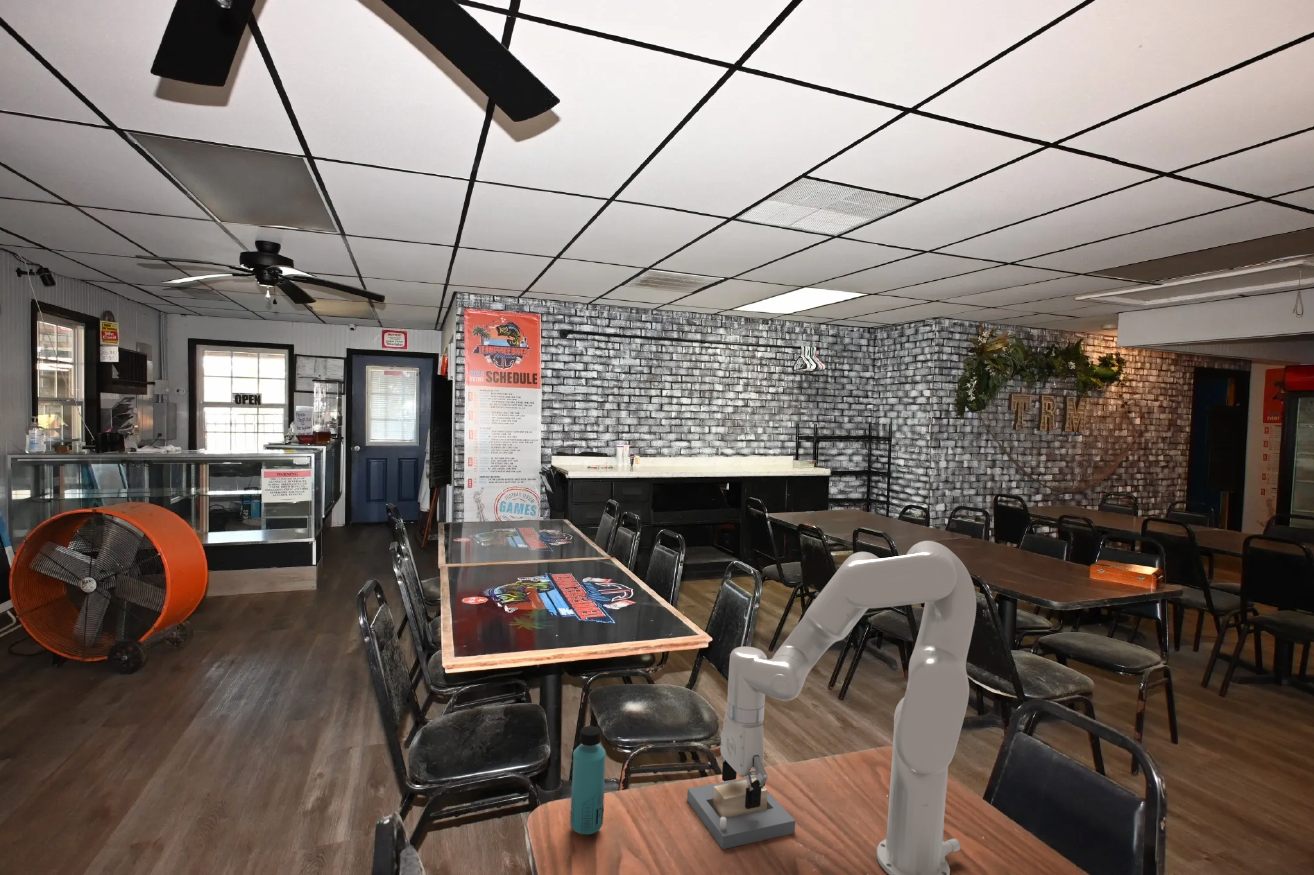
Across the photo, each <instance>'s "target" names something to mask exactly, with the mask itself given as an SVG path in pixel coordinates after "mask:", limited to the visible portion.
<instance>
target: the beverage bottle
mask: <svg viewBox="0 0 1314 875" xmlns="http://www.w3.org/2000/svg"><path fill="white" fill-rule="evenodd" d="M601 735H602V733H601V729H600V728H599V727H597V726H593V725H588V726H584V727H582V728H581V729H580V732H579V738H578V741H579V743H580V744H579V745H578V746H577V747H576V748H575V749H574V750H573V753H572V756H573V760H572V777H571V778H572V779H571V780H572V781H571V795H570V796H571V797H570V802H569V803H570V809H569V812H570V815H569V819H570V820H569V824H570V826H571V829H572V830H573V831H575V832H576V833H578V834H580V835H591V834H595V833H597V832H599V831H600V830H601V828H602V826H603V824H604V813H605V811H604V810H605V807H604V804H605V782H606V770H605V768H606V756H607V754H606V750H605V748H604V747H602V745H601V744H600V743H601V741H602V736H601Z"/></svg>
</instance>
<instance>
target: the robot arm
mask: <svg viewBox="0 0 1314 875" xmlns="http://www.w3.org/2000/svg"><path fill="white" fill-rule="evenodd" d="M916 604H924V606H923V612H922V616H921V620H920V626H919V631H918V633H917V634H918V635H917V637H916V641H915V645H914V648H913V651H912V654H911V656H910V659H909V663H908V679H907V686H906V690H905V693H904V697H902V698H901V699H900V700H899V702H898V703H897V705H896V708H895V709H894V715H893V737H892V738H893V739H892V740H893V741H892V754H891V756H892V757H891V770H890V782H889V796H888V798H889V799H888V810H887V812H888V813H887V825H886V838H884V839H883V840H881V841H880V842H879V843H878V845H877V847H876V859H877V861H878V863H879V864H878V865H879V866H880V867H881V868H882V869H883V870H884V872H886V873H887V874H888V875H950V871H951V869H950V864H949V863H948V862H947V860H946V856H948V855H949V853H954V852H958V851H960V850H961V843H960V842H959V840H958V839H957V838H950V839H947V840H946V841H944V840H945V838H944V823H945V812H946V811H945V809H946V796H947V789H948V787H947V786H948V775H949V774H948V772H949V765H950V764H951V762H952V761H953V758H954V755H955V752H956V749H957V745H958V742H959V739H960V736H961V730H962V727H963V723H964V719H965V716H966V712H967V709H968V708H967V707H968V703H969V697H970V683H969V678H968V677H969V676H968V673H967V666H966V665H967V658H968V654H969V649H970V645H971V641H972V637H973V631H974V626H975V621H976V616H977V614H976V613H977V597H976V591H975V585H974V583H973V580H972V577H971V575H970V573H969V570H968V569H967V567H966V566H965V564H964V563H963V562H962V560H961V559H960V558H959V557H958V556H957V555H956V554H955V553H954V552H953V551H952V550H951V549H949V548H948V547H947V546H946V545H943V544H941V543H939V542H936V541H933V540H923V541H919V542H916V543H915V544H914V545H912V546H911V547H910V548H909V549H908V551H907V553H906V554H905V555H898V556H892V557H883V558H880V557H878V556H877V555H875V554H873V553H872V552H867V551H858V552H854V553H852V554H851V555H849V556H848V557H847V558H846V559H845V560H844V562H843V563H842V564H841V566H840V567H839V568H838V569H837V570H836V572H835V573H834V575H833V576H832V577H831V579H830V580H829V581H828V582H827V584H826V585H825V586H824V587H823V588H822V590H821V591H820V592H819V594H818V595H817V596H816V598H815V599H814V600H813V601H812V603H811V604H810V605H809V607H808V608H807V610H806V611H805V613H804V614H803V617H802V619H800V620H799V622H798V623H797V625H796V626H795V627H794V628H793V630H792V631H791V632H790V634H789V635H788V637H786V639H785V640H784V641H783V642H782V644H781V645H780V646H779V647H778V649H777V650H776V652H775V653H774V655H773V656H772V658H770V659H768V657H767V655H766V653H765V652H764V651H762V650H761V649H759V648H757V647H753V646H738V647H735V648H733V649H732V650H731V652H730V654H729V665H728V680H727V697H726V698H727V701H726V709H725V710H726V711H725V714H724V718H723V724H722V728H721V729H722V730H721V731H722V732H721V733H720V734H719V735H720V751H719V752H720V755H721V760H722V768H721V770H722V771H721V781H722V782H726V781H732V780H737V775H738V776H740V777H742V778H743V777H744V778H746V781H747V785H748V788H746V797H745V807H746V809H751V808H756V807H759V806H760V803H761V789H762V788H763V786H764V787H766V782H767V780H768V778H769V777H768V773H767V771H766V769H765V767H764V758H765V757H764V756H765V755H764V753H765V751H764V750H765V747H764V746H765V741H764V740H765V738H764V725H763V723H764V719H765V718H764V717H765V702H766V696H768V697H770V698H772V699H776V700H779V701H783V702H789V701H793V700H794V699H796V698H797V697H798V696H799V694H800V693H801V692H802V689H803V686H804V684H805V681H806V678H808V675H809V673H810V672H811V670H812V669H813V668H814V667H815V665H816V664H817V662H818V661H819V660H820V659H821V657H822V656H823V655H824V653H826V651H828V649H829V648H830V647H831V646H833V645H834V644H835V643H836V642H838V641H839V642H840V641H842V640H844V639H845V638H846V637H847V636H848V635H849V633H850V632H851V631H852V630H853V629H854V627H855V626H856V625H857V623H858V622H859V621H860V620H861V618H862V617H863V616H864V615H865V613H866V612H867V611H868V609H878V608H879V609H880V608H890V607H898V606H899V607H900V606H907V605H908V606H909V605H916ZM752 769H753V771H752ZM752 775H755V776H756V780H755V781H754V782H753V783H752V780H751V777H752Z"/></svg>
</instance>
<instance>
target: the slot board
mask: <svg viewBox="0 0 1314 875" xmlns="http://www.w3.org/2000/svg"><path fill="white" fill-rule="evenodd" d="M753 778H756V776H755V775H752V776H751V779H753ZM743 780H746V777H744V778H743V777H742V778H738V779H737V778H736V779H735V780H730V781H722V782H716V783H710V784H705V785H701V786H695V787H694V786H693V787H689V788H687V797H686V800H687V802H688V804H689V805H690V806H691V807H692V809H693V810H694V812H695V814H697V816H698V818H699V819H700V820H701V822H702V823H703V825H704V826H705V827H706V828H707V830H708V831H709V833H710V835H712V837H713V839H714V840H715V841H716V843H717V844H718V846H719V847H720V849H722V850H726V849H731V848H735V847H738V846H743V845H744V846H745V845H748V844H752V843H758V842H760V841H765V840H770V839H774V838H778V837H783V836H787V835H791V834H795V831H796V820H795V818H794V817H793V816H792V815H791V814H790V813H789V812H788V811H787V810H786V809H785V808H784V807H783V805H781V803H780V802H778V800H777V799H776V798H775V797H774V796H773V794H771V793H770V792H769V791H768V794H767V810H763V811H758V812H753V813H748V814H743V815H738V816H734V817H729V818H726V817H721V818H720V817H719V816H718V815H717V813H716V812H715V811H714V810H713V792H714V786H718V785H723V784H728V783H733V782H738V781H743Z"/></svg>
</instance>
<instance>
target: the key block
mask: <svg viewBox="0 0 1314 875" xmlns="http://www.w3.org/2000/svg"><path fill="white" fill-rule="evenodd" d="M751 780H752V783H753V782H754V781H755V780H756V778H753V779H751ZM746 788H748V785H747V781H746V780H743V781H738V782H733V783H728V784H723V785H718V786H714V792H713V810H714V811H715V812H716V813H717V815H718V816H719V817H720V818H721V817H726V818H729V817H734V816H738V815H743V814H748V813H753V812H758V811H763V810H767V794H768V792H769V789H767V788H766V786H763V788H762V789H761V803H760V806H759V807H756V808H751V809H746V807H745V797H746Z"/></svg>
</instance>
